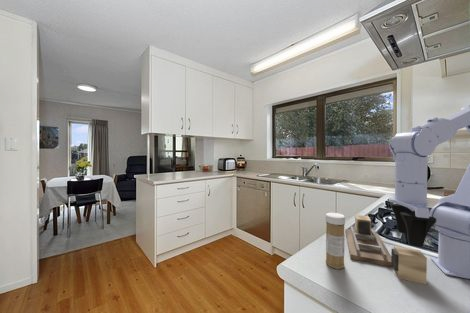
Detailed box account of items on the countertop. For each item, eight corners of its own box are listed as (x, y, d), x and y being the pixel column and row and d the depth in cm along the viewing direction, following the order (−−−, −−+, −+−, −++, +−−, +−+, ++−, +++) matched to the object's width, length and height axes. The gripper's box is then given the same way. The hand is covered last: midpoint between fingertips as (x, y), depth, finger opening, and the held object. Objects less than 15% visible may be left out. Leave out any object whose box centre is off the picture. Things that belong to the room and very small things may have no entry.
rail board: (377, 236, 70) (378, 216, 69) (394, 267, 52) (395, 239, 51) (345, 232, 74) (345, 212, 74) (350, 258, 56) (350, 233, 56)
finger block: (390, 268, 51) (391, 245, 51) (419, 274, 49) (419, 250, 49) (395, 277, 48) (395, 252, 47) (426, 284, 45) (426, 258, 45)
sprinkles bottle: (330, 258, 56) (330, 210, 56) (347, 265, 53) (348, 214, 52) (322, 264, 53) (322, 214, 53) (340, 272, 50) (340, 218, 50)
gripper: (382, 177, 56) (381, 225, 56) (398, 185, 43) (397, 248, 43) (415, 178, 53) (414, 229, 53) (443, 188, 40) (442, 255, 40)
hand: (409, 238), depth 48 cm, fingers open, 7 cm apart
